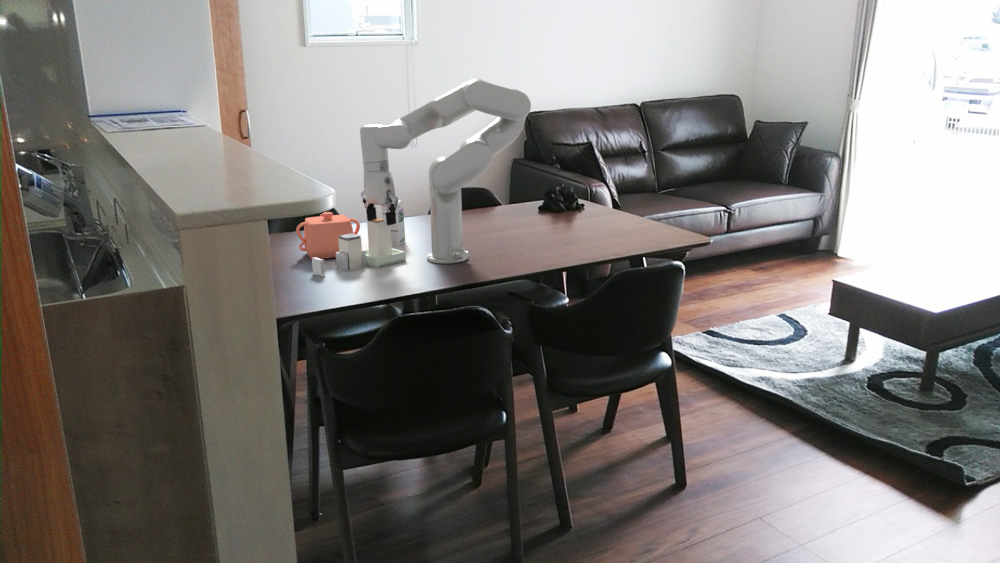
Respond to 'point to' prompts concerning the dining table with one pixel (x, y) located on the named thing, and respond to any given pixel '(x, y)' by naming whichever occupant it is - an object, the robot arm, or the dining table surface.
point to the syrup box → (397, 228)
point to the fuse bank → (344, 255)
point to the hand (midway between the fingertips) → (381, 222)
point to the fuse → (379, 237)
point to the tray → (385, 258)
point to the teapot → (324, 234)
